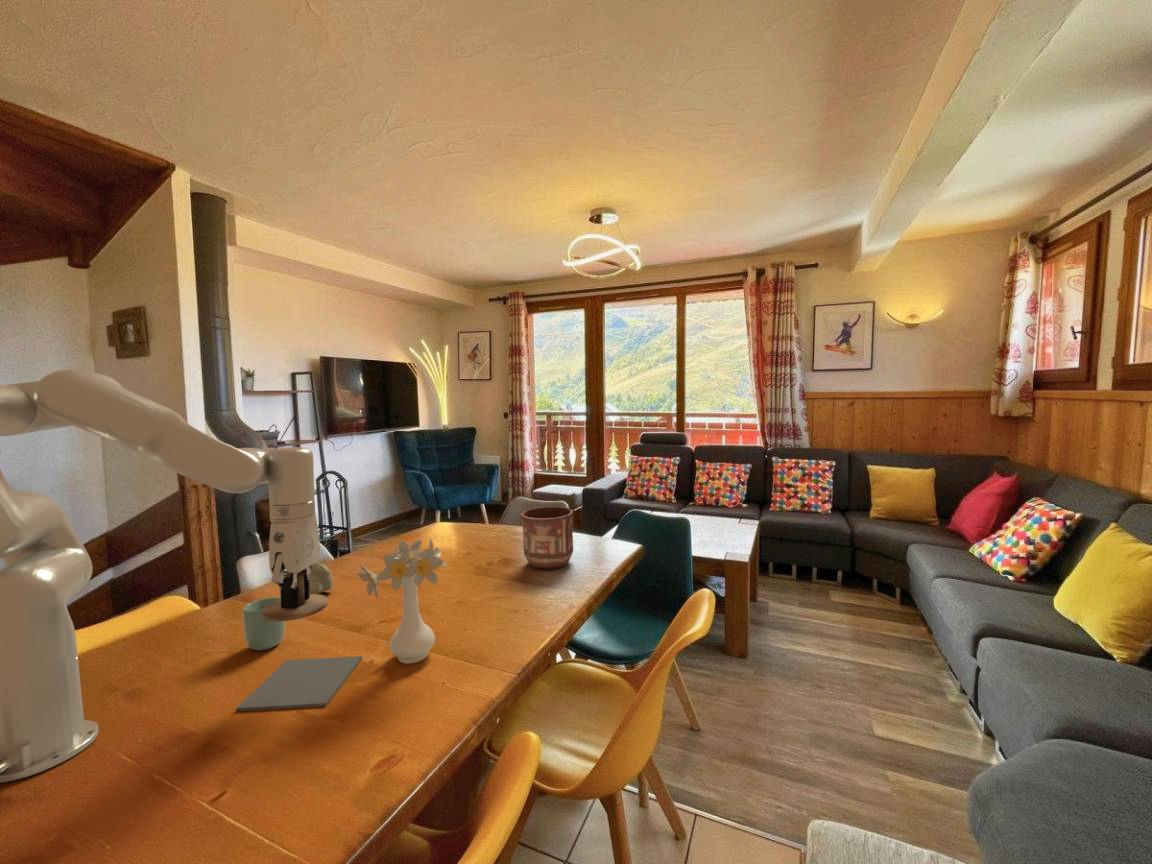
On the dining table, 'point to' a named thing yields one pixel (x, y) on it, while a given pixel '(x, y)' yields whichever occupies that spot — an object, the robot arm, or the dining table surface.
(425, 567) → the flower vase
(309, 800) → the dining table surface
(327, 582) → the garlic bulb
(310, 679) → the mat
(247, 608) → the cup
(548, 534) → the pottery
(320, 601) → the lid
